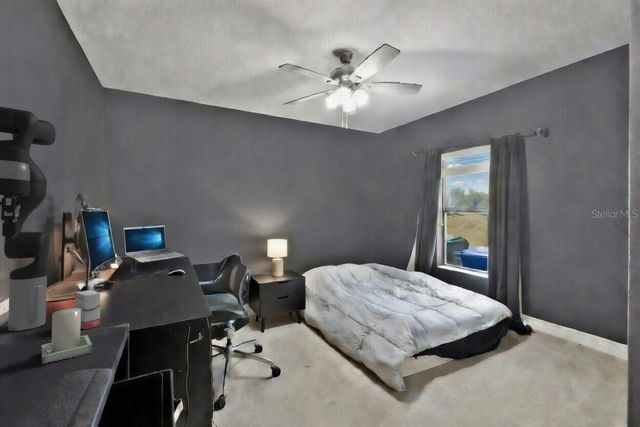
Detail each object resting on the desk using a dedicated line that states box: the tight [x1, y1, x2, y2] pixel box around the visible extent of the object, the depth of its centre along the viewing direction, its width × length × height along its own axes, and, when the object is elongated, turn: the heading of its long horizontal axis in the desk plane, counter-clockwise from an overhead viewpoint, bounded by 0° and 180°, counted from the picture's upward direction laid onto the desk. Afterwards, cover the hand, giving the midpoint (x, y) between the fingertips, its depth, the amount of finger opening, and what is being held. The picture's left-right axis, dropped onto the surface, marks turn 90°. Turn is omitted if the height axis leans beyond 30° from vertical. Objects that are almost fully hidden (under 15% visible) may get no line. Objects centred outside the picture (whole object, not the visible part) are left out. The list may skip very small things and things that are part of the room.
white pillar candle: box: [51, 307, 81, 354], centre depth 80 cm, size 6×6×11 cm
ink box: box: [74, 289, 101, 330], centre depth 101 cm, size 9×5×12 cm, turn 58°
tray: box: [41, 334, 93, 365], centre depth 80 cm, size 10×10×2 cm
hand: (9, 235), depth 80 cm, fingers open, 8 cm apart
